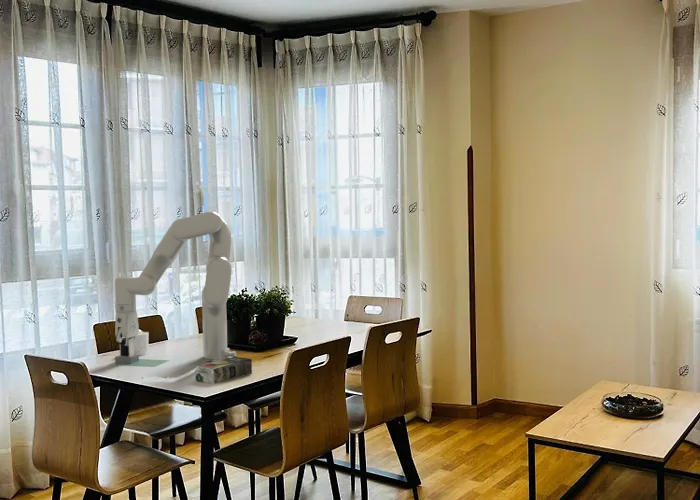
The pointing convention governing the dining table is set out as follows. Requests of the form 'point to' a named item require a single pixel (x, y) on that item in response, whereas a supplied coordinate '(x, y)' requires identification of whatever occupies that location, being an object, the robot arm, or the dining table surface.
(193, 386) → the dining table surface
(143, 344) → the white cup
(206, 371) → the juice carton
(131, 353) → the cream rectangular block
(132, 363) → the board
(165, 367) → the dining table surface
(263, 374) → the dining table surface
